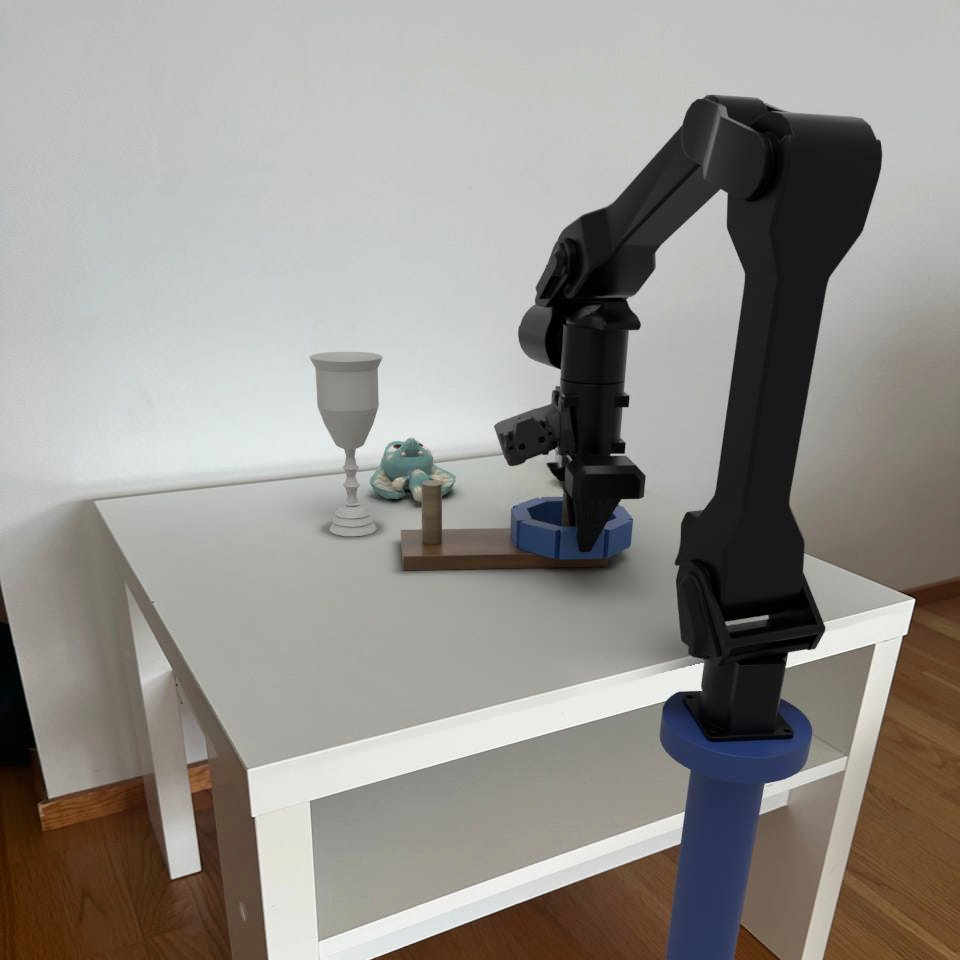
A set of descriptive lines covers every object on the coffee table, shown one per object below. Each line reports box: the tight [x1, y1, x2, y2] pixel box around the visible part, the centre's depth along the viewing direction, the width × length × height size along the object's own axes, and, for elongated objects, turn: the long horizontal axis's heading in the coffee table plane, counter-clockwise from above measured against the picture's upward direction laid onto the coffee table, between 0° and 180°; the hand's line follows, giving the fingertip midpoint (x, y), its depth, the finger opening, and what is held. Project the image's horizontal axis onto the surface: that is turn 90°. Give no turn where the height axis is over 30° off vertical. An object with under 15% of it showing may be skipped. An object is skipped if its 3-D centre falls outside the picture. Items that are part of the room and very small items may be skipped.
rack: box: [400, 480, 609, 571], centre depth 93 cm, size 8×20×8 cm, turn 96°
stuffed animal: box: [369, 437, 457, 503], centre depth 112 cm, size 11×7×12 cm
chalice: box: [309, 351, 384, 537], centre depth 97 cm, size 7×7×18 cm
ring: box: [509, 496, 634, 560], centre depth 94 cm, size 12×12×3 cm
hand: (581, 546), depth 89 cm, fingers open, 3 cm apart
